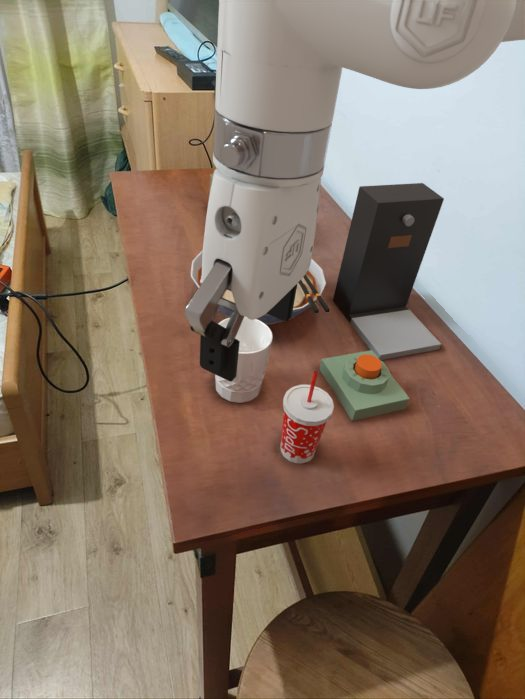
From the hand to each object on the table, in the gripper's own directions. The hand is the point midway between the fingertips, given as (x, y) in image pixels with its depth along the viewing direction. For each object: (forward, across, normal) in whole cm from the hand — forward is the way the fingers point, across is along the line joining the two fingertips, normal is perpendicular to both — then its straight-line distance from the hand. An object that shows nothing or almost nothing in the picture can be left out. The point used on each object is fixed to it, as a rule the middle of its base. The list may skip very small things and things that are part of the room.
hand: (248, 341), depth 45 cm
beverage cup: (+24, +11, -3) cm, 27 cm away
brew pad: (+24, +27, -6) cm, 37 cm away
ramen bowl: (+24, +35, +17) cm, 46 cm away
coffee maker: (+24, +45, -4) cm, 51 cm away
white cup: (+24, +16, +9) cm, 31 cm away
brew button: (+21, +27, -6) cm, 35 cm away
